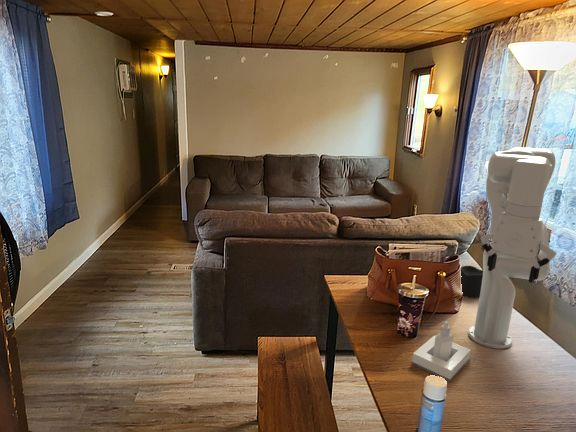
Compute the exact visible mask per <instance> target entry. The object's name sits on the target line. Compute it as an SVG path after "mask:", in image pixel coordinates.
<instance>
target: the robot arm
mask: <svg viewBox="0 0 576 432" xmlns="http://www.w3.org/2000/svg"><path fill="white" fill-rule="evenodd" d="M487 165H488V166H487V178H486V182H485V191H486V192H485V193H486V198H487V201H488V204H489V207H490V210H491V214H490V217H491V218H490V229H489V230H490V231H489V232H490V233H488V234H484V235H481V236H480V243H481V244H482V247H483V249H484V251H483V253H482V255H483V257H482V270H483V278H482V286H481V292H480V298H478V305H477V311H476V317H475V323H474V325H472V326H470V327H469V329H468V336H469V337H470V339H471V340H473V342H475V343H477V344H479V345H481V346H484V347H487V348H490V349H498V350H499V349H500V350H501V349H507V348H510V347H511V346H512V345H513V338H512V336H511V335H510V334H509V330H510V325H511V319H512V313H513V309H514V303H515V302H514V301H515V297H516V288H515V285H514V284H513V281H512V280H511V279H510V278H516V279H517V278H518V279H523V280H528V283H530V284H531V283H534V282H535V281H537V282H538V281H543V280H544V279H546V277H548V275H549V271H550V262H551V261H552V260H553V259H554V258H555V257H556V256H557V252H556V251H554V250H553V249H552V248H550V244H549V242H550V241H549V240H550V239H549V231H548V227H547V226H546V224H545V223H543V218H542V217H541V214H542V213H541V212H542V206H543V202H544V198H545V197H544V196H545V192H546V191H547V188H548V186H549V183H550V181H551V178H552V176H553V174H554V171H555V168H556V155H555V154H554V152H553V151H551V150H550V149H547V148H535V147H522V146H519V147H518V146H517V147H516V146H515V147H511V148H509V149H507V150H504V151H503V150H502V151H496V152H494V153H492V155H491V156H490V158H489V161H488V164H487ZM489 241H491V243H489Z"/></svg>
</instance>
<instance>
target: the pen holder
mask: <svg viewBox="0 0 576 432" xmlns="http://www.w3.org/2000/svg"><path fill="white" fill-rule="evenodd" d="M460 271H461V276H462V277H461V284H462V292H463V295H462V296H463V297H466V298H470V299H479V298H480V292H481V286H482V278H483V269H481V270H480V269H479V268H477V267H475V266H472V265H463V266H461V267H460Z"/></svg>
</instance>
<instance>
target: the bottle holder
mask: <svg viewBox="0 0 576 432" xmlns="http://www.w3.org/2000/svg"><path fill="white" fill-rule="evenodd" d="M436 336H437V335H436V334H435V335H433V336H432V337H430V338H429V339H427V341H426V342H424V343H423V344H422V345H421V346H420V347H419V348H417V349H416V350H415V351H414V352H413V354H412V360H411V365H413V366H416V367H417V368H419V369H421V370H424V371H426V372H428V373H430V374H432V375H434V376H436V375H438V376H441V377H443V378H445V379H446V380H447V382H449V383H450V382H451V381H452V380H453V379H454V378H455V377H456V376H457V375H458V373H460V371H461V370H462V369H463V368H464V367H465V366H466V364H467V363H469V361H470V359H471V354H472V353H471V352H472V349H470V348H467V347H466V346H463V345H461V344H458V343H456V342H453V343H452V350H451V357H450V359H449V360H448V361H447V362H446V361H444V360H441V359H439V358H437V357H435V356H433V351H434V343H435V338H436ZM438 376H437V377H438ZM446 380H445V381H446Z"/></svg>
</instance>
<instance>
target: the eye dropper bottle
mask: <svg viewBox="0 0 576 432" xmlns="http://www.w3.org/2000/svg"><path fill="white" fill-rule="evenodd" d="M450 332H451V326H449V322H448V321H445V322H444V324H441V326H440V332H439V333H438V334H437V335H436V338H435V343H434V351H433V356H435V357H437V358H439V359H441V360H444V361H446V362H447V361H448V360H449V359H450V357H451V350H452V343H454V335H453V334H452V333H450Z"/></svg>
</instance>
